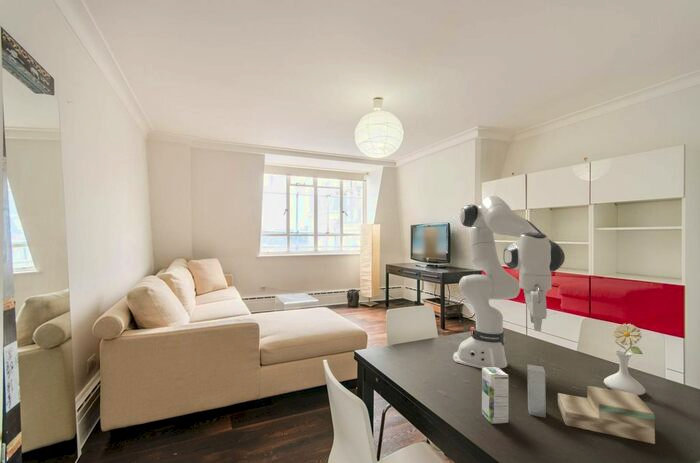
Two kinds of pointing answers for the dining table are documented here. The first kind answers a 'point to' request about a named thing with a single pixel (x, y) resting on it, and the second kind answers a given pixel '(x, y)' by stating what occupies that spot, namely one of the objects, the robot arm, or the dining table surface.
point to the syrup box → (495, 395)
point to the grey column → (536, 391)
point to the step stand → (609, 413)
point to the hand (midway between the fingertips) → (535, 326)
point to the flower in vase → (625, 360)
